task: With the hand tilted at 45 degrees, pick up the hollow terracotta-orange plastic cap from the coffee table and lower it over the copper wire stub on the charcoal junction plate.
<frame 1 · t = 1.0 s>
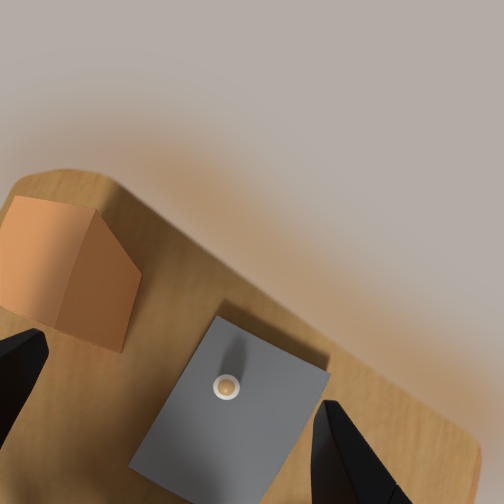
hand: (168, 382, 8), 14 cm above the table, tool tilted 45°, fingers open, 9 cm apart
junction plate: (229, 425, 20), on the table
orange cap: (96, 303, 23), on the table
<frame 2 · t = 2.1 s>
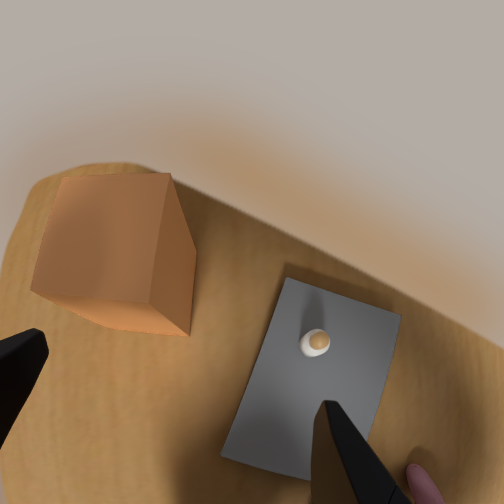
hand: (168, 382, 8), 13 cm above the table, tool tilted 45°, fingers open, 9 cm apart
junction plate: (315, 386, 20), on the table
orange cap: (151, 290, 23), on the table
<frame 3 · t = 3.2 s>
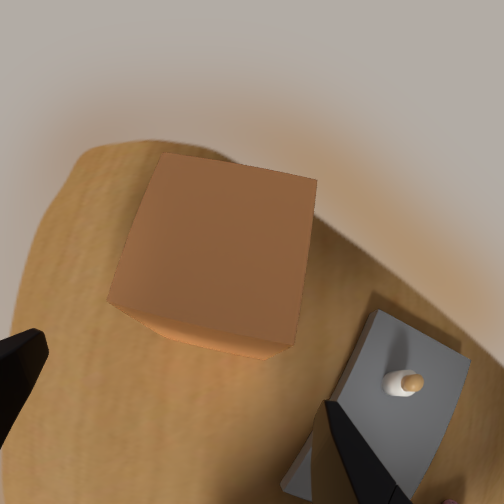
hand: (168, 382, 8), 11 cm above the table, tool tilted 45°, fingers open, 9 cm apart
junction plate: (383, 424, 17), on the table
orange cap: (225, 301, 20), on the table
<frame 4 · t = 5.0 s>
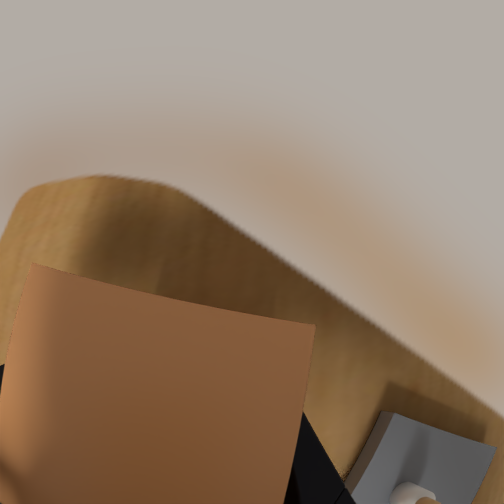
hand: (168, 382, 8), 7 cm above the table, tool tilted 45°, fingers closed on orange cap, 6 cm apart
orange cap: (191, 406, 14), on the table, touching gripper
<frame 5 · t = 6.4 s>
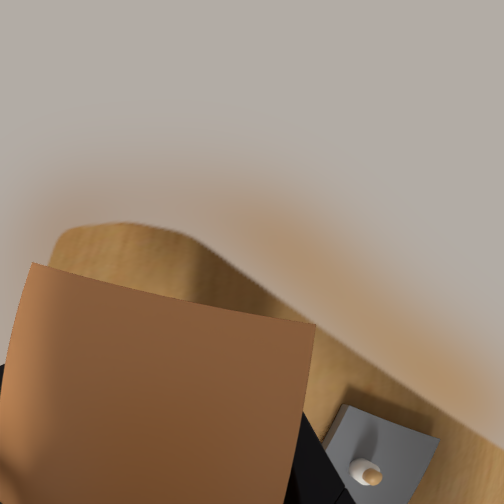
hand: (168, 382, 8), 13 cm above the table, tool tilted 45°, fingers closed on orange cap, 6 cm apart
junction plate: (351, 495, 17), on the table
orange cap: (191, 406, 14), point 7 cm above the table, touching gripper
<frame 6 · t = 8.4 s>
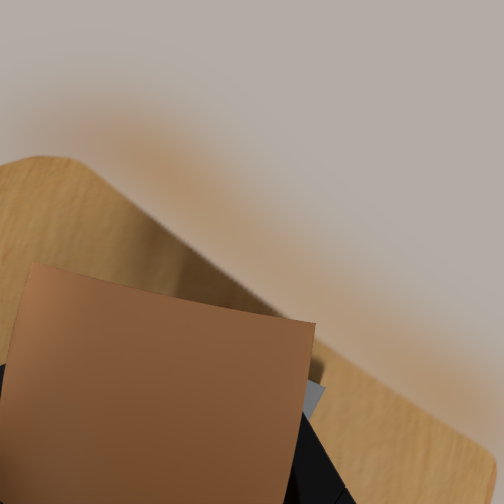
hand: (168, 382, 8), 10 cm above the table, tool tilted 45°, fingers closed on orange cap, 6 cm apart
junction plate: (203, 444, 16), on the table
orange cap: (191, 406, 14), point 4 cm above the table, touching gripper
when the fingers open (9 cm above the table, at t = 9.2 s): orange cap stays where it is, resting on junction plate.
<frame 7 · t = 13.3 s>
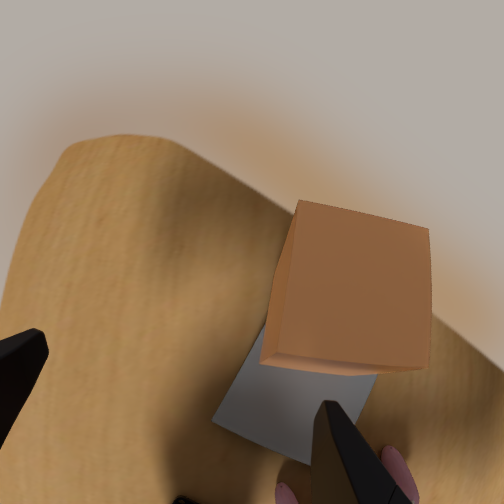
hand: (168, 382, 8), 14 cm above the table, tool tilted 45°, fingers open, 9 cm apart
junction plate: (311, 368, 21), on the table
video game controller: (339, 492, 18), on the table
orange cap: (312, 325, 21), point 1 cm above the table, touching junction plate
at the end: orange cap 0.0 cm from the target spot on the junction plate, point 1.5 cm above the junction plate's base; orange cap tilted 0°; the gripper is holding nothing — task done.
